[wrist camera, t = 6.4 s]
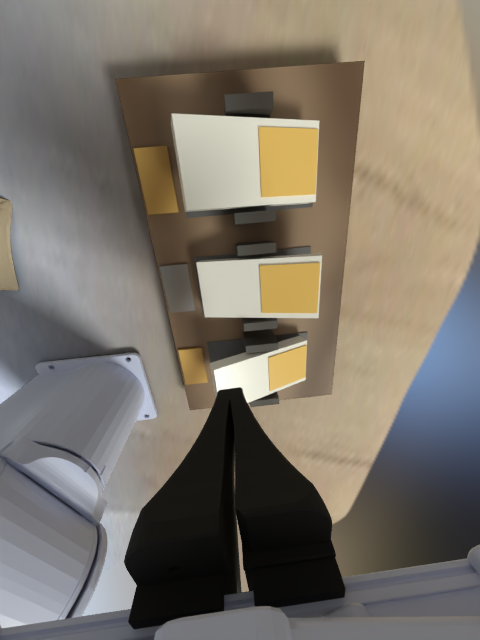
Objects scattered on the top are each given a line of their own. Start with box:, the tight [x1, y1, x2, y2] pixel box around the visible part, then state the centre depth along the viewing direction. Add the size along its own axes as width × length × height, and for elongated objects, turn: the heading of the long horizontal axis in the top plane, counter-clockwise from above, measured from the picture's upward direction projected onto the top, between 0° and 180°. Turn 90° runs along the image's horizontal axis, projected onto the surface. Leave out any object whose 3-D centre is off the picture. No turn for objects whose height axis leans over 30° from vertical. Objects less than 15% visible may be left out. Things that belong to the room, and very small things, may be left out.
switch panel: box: [115, 61, 365, 410], centre depth 17 cm, size 14×24×5 cm, turn 5°
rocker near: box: [171, 114, 319, 212], centre depth 12 cm, size 8×4×1 cm, turn 95°
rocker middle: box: [196, 254, 322, 318], centre depth 15 cm, size 8×4×1 cm, turn 95°
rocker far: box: [210, 336, 307, 403], centre depth 18 cm, size 8×4×1 cm, turn 95°
